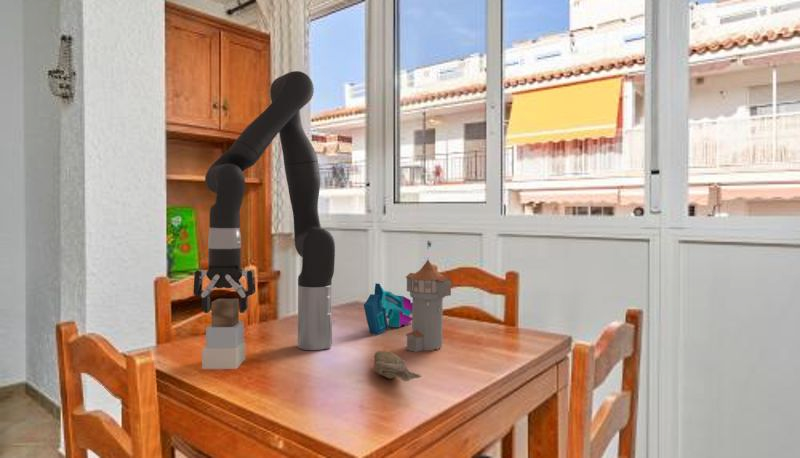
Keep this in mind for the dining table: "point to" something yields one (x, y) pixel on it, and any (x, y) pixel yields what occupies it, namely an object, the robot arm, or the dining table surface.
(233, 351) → the tower base
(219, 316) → the walnut block
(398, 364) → the sculpture
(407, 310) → the toy gun
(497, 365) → the dining table surface
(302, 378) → the dining table surface
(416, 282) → the model building
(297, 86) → the robot arm
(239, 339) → the tower top
